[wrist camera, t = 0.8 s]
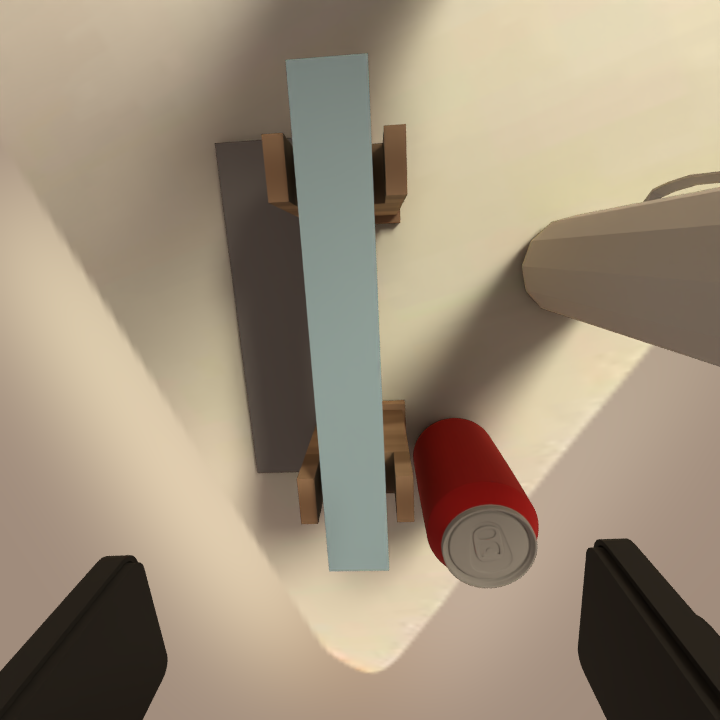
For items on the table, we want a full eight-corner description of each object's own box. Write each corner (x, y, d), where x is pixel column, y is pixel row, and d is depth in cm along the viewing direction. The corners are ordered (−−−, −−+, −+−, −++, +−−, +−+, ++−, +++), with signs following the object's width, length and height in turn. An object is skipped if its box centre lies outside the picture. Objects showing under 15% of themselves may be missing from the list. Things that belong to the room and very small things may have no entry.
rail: (302, 95, 21) (285, 59, 17) (369, 90, 21) (367, 53, 17) (335, 526, 28) (329, 571, 24) (387, 525, 27) (389, 570, 23)
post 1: (298, 170, 29) (254, 122, 19) (398, 163, 29) (411, 111, 18) (303, 228, 30) (264, 214, 20) (399, 222, 30) (412, 205, 19)
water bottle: (578, 333, 32) (1241, 593, 7) (494, 282, 31) (927, 383, 7) (658, 226, 29) (1973, 96, 5) (570, 168, 29) (1624, -300, 4)
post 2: (318, 403, 34) (291, 471, 23) (404, 400, 33) (417, 468, 23) (321, 446, 35) (297, 531, 24) (405, 444, 34) (418, 528, 24)
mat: (218, 145, 29) (214, 143, 29) (294, 140, 29) (293, 137, 28) (259, 469, 36) (257, 472, 35) (322, 467, 35) (321, 471, 35)
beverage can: (420, 492, 36) (442, 607, 24) (404, 423, 34) (418, 510, 22) (497, 477, 35) (557, 587, 23) (484, 405, 33) (542, 486, 22)
